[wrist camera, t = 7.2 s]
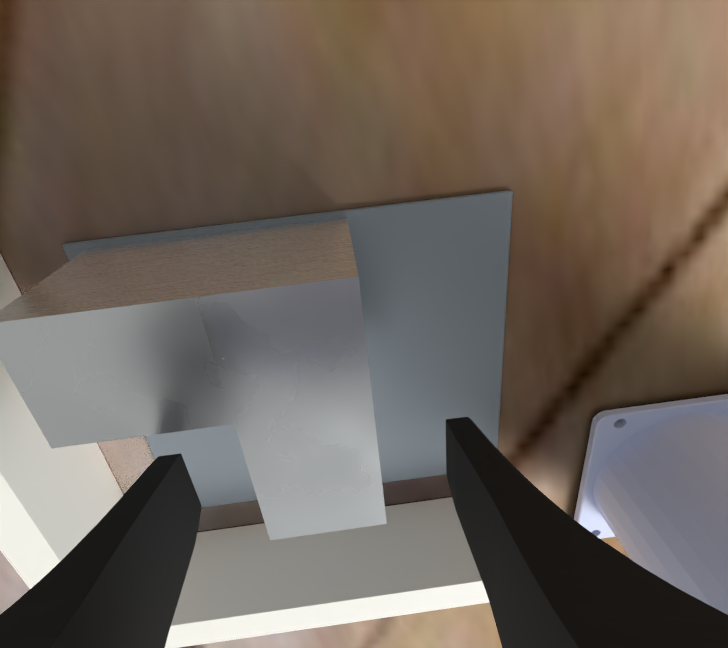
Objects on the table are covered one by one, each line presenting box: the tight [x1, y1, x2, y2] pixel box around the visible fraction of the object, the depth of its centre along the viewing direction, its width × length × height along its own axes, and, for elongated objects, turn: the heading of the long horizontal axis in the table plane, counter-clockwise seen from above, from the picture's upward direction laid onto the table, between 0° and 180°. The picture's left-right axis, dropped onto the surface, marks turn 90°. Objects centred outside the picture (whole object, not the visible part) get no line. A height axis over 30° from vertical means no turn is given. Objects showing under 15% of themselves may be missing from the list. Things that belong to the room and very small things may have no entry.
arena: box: [0, 254, 489, 648], centre depth 15 cm, size 18×18×4 cm
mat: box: [62, 190, 513, 508], centre depth 17 cm, size 14×12×1 cm
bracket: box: [0, 216, 387, 540], centre depth 14 cm, size 8×8×5 cm
